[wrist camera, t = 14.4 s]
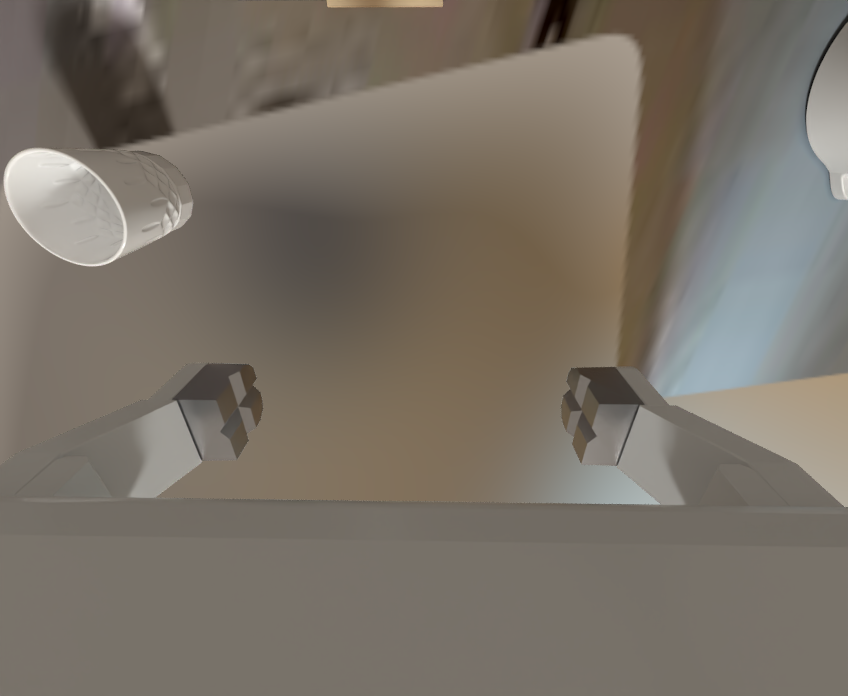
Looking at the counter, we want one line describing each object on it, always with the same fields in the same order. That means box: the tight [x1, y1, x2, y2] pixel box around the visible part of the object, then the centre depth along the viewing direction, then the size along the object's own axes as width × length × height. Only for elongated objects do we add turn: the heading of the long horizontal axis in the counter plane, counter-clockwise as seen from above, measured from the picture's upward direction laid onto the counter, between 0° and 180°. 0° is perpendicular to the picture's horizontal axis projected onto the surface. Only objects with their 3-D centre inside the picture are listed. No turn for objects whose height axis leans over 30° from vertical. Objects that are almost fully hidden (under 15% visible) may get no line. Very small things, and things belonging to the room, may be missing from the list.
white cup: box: [4, 148, 193, 266], centre depth 31 cm, size 8×8×10 cm
